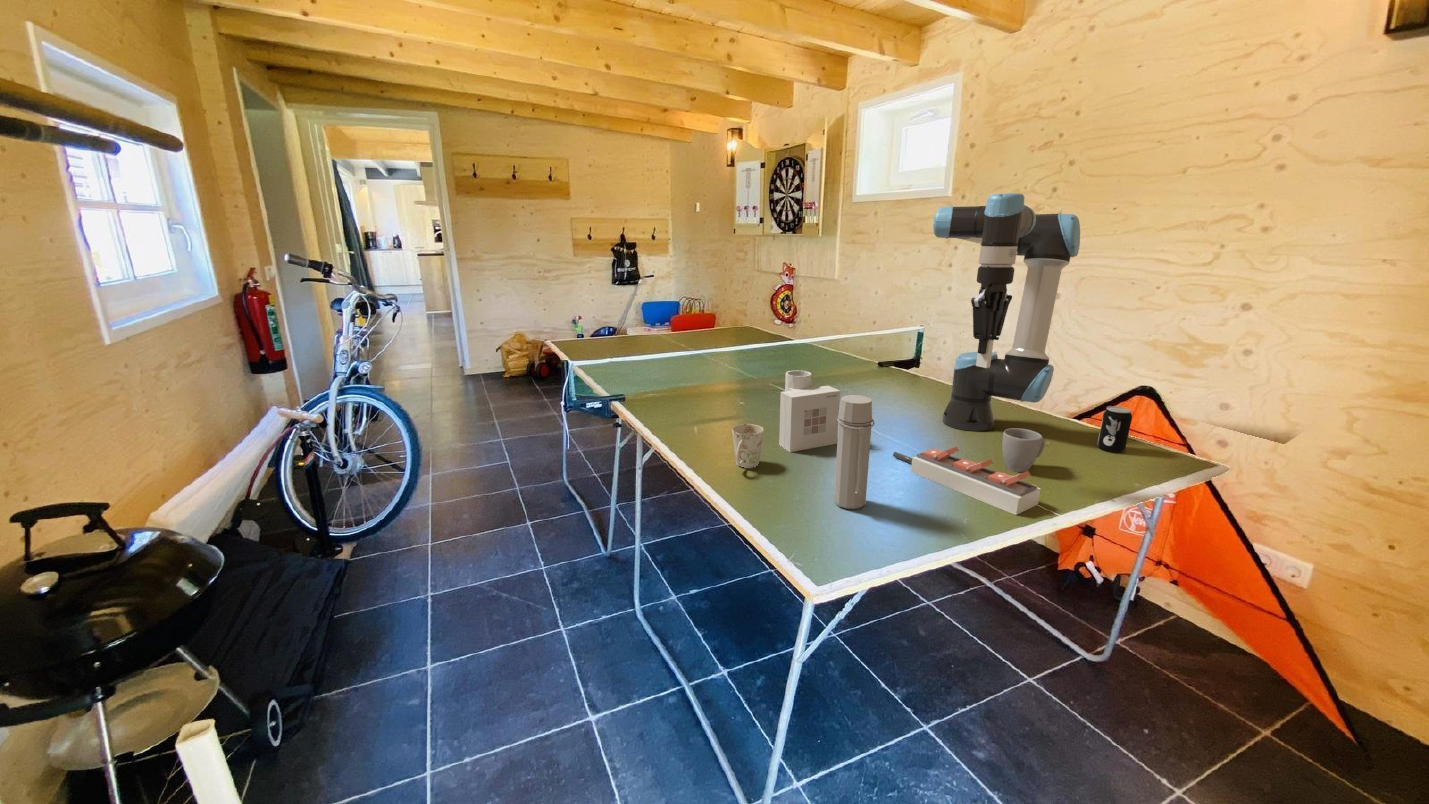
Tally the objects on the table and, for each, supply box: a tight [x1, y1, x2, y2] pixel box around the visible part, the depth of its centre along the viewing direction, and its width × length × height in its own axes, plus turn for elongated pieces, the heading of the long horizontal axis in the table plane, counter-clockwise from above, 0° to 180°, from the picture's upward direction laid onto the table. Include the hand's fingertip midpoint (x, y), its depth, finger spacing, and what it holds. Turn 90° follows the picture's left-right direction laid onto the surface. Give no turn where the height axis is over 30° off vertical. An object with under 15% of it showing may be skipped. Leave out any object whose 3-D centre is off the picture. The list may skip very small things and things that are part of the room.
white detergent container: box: [778, 369, 841, 453], centre depth 167 cm, size 16×19×20 cm
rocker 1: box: [921, 446, 960, 460], centre depth 142 cm, size 8×5×2 cm, turn 33°
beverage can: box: [1096, 405, 1133, 454], centre depth 157 cm, size 7×7×12 cm
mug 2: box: [1001, 427, 1046, 473], centre depth 146 cm, size 12×9×10 cm
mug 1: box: [731, 423, 765, 469], centre depth 147 cm, size 8×13×10 cm, turn 161°
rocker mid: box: [953, 458, 994, 473], centre depth 135 cm, size 8×5×2 cm, turn 33°
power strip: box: [892, 451, 1041, 516], centre depth 139 cm, size 37×9×5 cm, turn 33°
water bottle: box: [833, 394, 875, 510], centre depth 124 cm, size 9×8×25 cm
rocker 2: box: [987, 471, 1032, 486], centre depth 127 cm, size 8×5×2 cm, turn 33°
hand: (982, 366), depth 135 cm, fingers closed
